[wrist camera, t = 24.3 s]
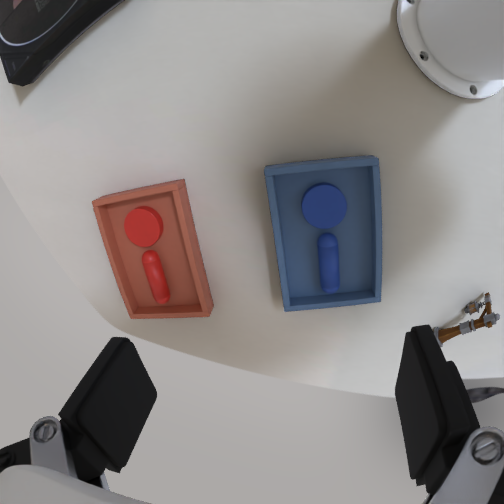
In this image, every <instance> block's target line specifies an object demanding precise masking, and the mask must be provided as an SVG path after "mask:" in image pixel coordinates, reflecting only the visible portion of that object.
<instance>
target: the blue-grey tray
mask: <svg viewBox="0 0 504 504" xmlns="http://www.w3.org/2000/svg"><path fill="white" fill-rule="evenodd" d="M264 174H265V180H266V186H267V193H268V199H269V206H270V213H271V219H272V226H273V233H274V240H275V247H276V254H277V261H278V268H279V275H280V283H281V290H282V297H283V305H284V311H285V312H288V311H300V310H311V309H321V308H331V307H341V306H350V305H359V304H367V303H375V302H381V286H382V207H381V186H380V170H379V158H377V157H375V156H373V155H370V156H356V157H343V158H332V159H321V160H311V161H302V162H293V163H285V164H277V165H269V166H266V167H265V169H264ZM318 183H330V184H333V185H334V186H336V187H337V188H339V189H340V190H341V192H342V193H343V195H344V196H345V199H346V202H347V211H346V215H345V217H344V218H343V220H342V221H341V222H340V223H339V224H338V225H336V226H335V227H332V228H329V229H320V228H316V227H314V226H312V225H311V224H309V223H308V222H307V221H306V219H305V218H304V216H303V213H302V207H301V202H302V198H303V195H304V193H305V192H306V191H307V189H308V188H310V187H311V186H313V185H315V184H318ZM323 233H332V234H334V235H335V236H336V238H337V240H338V251H339V271H340V287H339V289H338V290H337V291H336V292H335V293H332V294H328V293H325V292H324V291H323V290H322V288H321V285H320V271H319V259H318V247H317V241H318V238H319V237H320V235H322V234H323Z"/></svg>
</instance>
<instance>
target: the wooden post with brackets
mask: <svg viewBox="0 0 504 504" xmlns="http://www.w3.org/2000/svg"><path fill="white" fill-rule="evenodd" d="M467 305H468V304H467ZM483 305H486V306H485V309H484V311H483V313H482V315H481V316H480V318H479V319H477V320H473V319H471V321H470V322H469V320H468V321H467V322H464V323H460V325H458V326H456V327H452V328H447V329H442V330H439V328H438V327H436V328H435V330H434V335H435V337H436V339H437V341H438V344H439V346H440V347H443V343H444V342H445V341H447V340H449V339H451V338H453V337H455V336H457V335H460V334H462V335H463V334H466V333H469V332H472V330H473V331H476V329H478V328H481V327H484V326H486V327H488V328H490V327H492V325H494V324H496V321H497V320H499V319H500V315H499V314H494V312H493V313H492V311H491V305H492V304H491V298H490V294H489V292H488V293H486V294H485V304H484V302H483ZM483 305H482V303H481V302H480V304H479V303H477V302H476V300H475V303H473V304H469V305H468V308H466V309H465V313H470V315H471V314H472V313H474V312H478V313H479V308H480V306H481V308H482V306H483ZM486 312H487V315H485V313H486Z"/></svg>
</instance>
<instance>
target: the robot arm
mask: <svg viewBox="0 0 504 504" xmlns="http://www.w3.org/2000/svg"><path fill="white" fill-rule="evenodd" d="M407 1H408V2H409V3H408V2H407ZM397 23H398V27H399V31H400V35H401V37H402V40H403V42H404V45H405V47H406V49H407V50H408V52H409V54H410V56H411V57H412V59H413V60H414V62H415V63H416V64H417V66H418V67H419V68H420V69H421V71H422V72H423V73H424V74H425V75H426V76H427V77H428V78H429V79H430V80H432V81H433V82H434V83H436V84H437V85H438V86H439V87H441V88H442V89H444V90H446V91H448V92H450V93H451V94H454V95H457V96H460V97H463V98H470V99H482V98H487V97H491V96H493V95H494V94H496V93H498V92H499V91H500V90H501V89H502V88H503V87H504V0H399V1H398V6H397ZM420 55H421V56H422V58H423V59H421V58H420ZM395 396H396V401H397V405H398V411H399V415H400V420H401V425H402V431H403V436H404V441H405V447H406V453H407V459H408V465H409V472H410V477H411V479H416V484H417V486H420V485H424V484H425V485H426V491H427V493H429V494H428V496H427V497H426V499H425V500H424V502H423V503H422V504H504V432H503V431H502V430H500V429H498V428H496V427H490V426H489V427H482V428H480V425H479V422H478V419H477V417H476V414H475V411H474V409H473V406H472V403H471V401H470V398H469V396H468V393H467V391H466V388H465V386H464V383H463V381H462V379H461V376H460V374H459V372H458V369H457V367H456V365H455V364H454V362H452V361H447V362H446V360H445V357H444V355H443V353H442V350H441V348H440V346H439V344H438V341H437V339H436V337H435V335H434V333H433V331H432V329H431V327H430V325H422V326H415V327H412V329H411V332H407V333H406V335H405V341H404V347H403V353H402V358H401V363H400V368H399V373H398V378H397V382H396V387H395ZM156 398H157V391H156V389H155V387H154V385H153V383H152V381H151V379H150V377H149V375H148V373H147V371H146V369H145V367H144V365H143V363H142V361H141V359H140V357H139V354H138V352H137V350H136V348H135V346H134V344H133V343H132V342H130V340H129V339H128V338H124V337H113V338H111V339H110V341H109V342H108V343H107V345H106V346H105V348H104V349H103V350H102V352H101V353H100V354H99V356H98V357H97V359H96V360H95V361H94V363H93V364H92V366H91V367H90V369H89V370H88V371H87V373H86V374H85V376H84V377H83V378H82V380H81V381H80V383H79V384H78V386H77V387H76V389H75V390H74V392H73V393H72V395H71V396H70V398H69V399H68V400H67V402H66V403H65V405H64V407H63V408H62V410H61V411H60V412H59V414H58V415H59V416H60V417H61V420H60V421H59V420H58V419H57V418H55V417H53V416H47V417H43V418H41V419H39V420H38V421H36V422H35V424H34V425H33V426H32V428H31V430H30V438H27V439H25V440H22V441H20V442H17V443H14V444H12V445H9V446H6V447H4V448H2V449H0V504H151V503H147V502H143V501H140V500H136V499H133V498H129V497H126V496H123V495H120V494H117V493H114V492H111V491H110V490H109V487H108V484H107V481H106V477H105V474H104V470H105V468H107V469H108V470H111V471H114V472H117V473H120V471H121V469H122V467H124V466H126V464H127V462H128V460H129V457H130V455H131V453H132V451H133V449H134V446H135V444H136V442H137V440H138V438H139V435H140V433H141V431H142V429H143V426H144V425H145V422H146V420H147V418H148V416H149V414H150V411H151V409H152V407H153V405H154V403H155V401H156Z"/></svg>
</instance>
